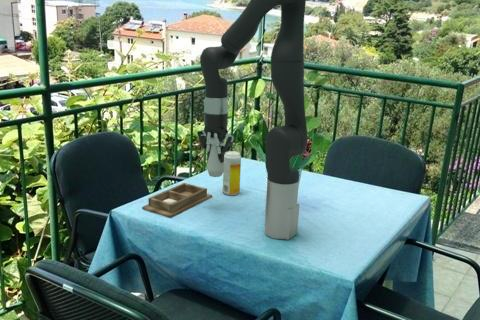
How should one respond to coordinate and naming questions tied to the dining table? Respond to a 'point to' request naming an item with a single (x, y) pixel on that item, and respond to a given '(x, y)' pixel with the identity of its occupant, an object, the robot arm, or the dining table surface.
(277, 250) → the dining table surface
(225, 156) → the white yellow canister
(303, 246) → the dining table surface
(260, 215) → the dining table surface
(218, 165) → the salt shaker
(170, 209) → the slot caddy
